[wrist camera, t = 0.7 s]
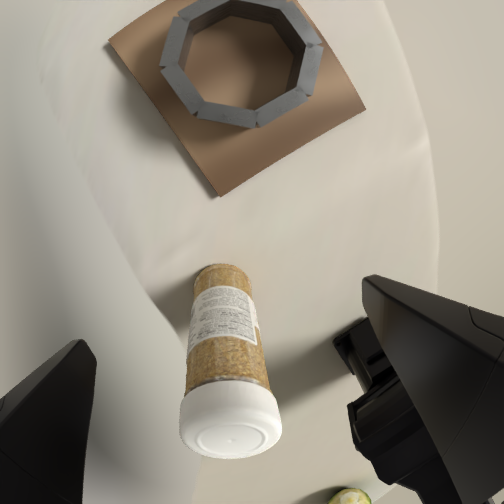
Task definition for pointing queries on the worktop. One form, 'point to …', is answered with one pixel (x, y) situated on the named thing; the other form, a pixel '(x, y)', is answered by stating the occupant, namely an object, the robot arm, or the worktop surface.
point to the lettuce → (350, 497)
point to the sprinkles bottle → (226, 371)
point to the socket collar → (253, 8)
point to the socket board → (235, 90)
